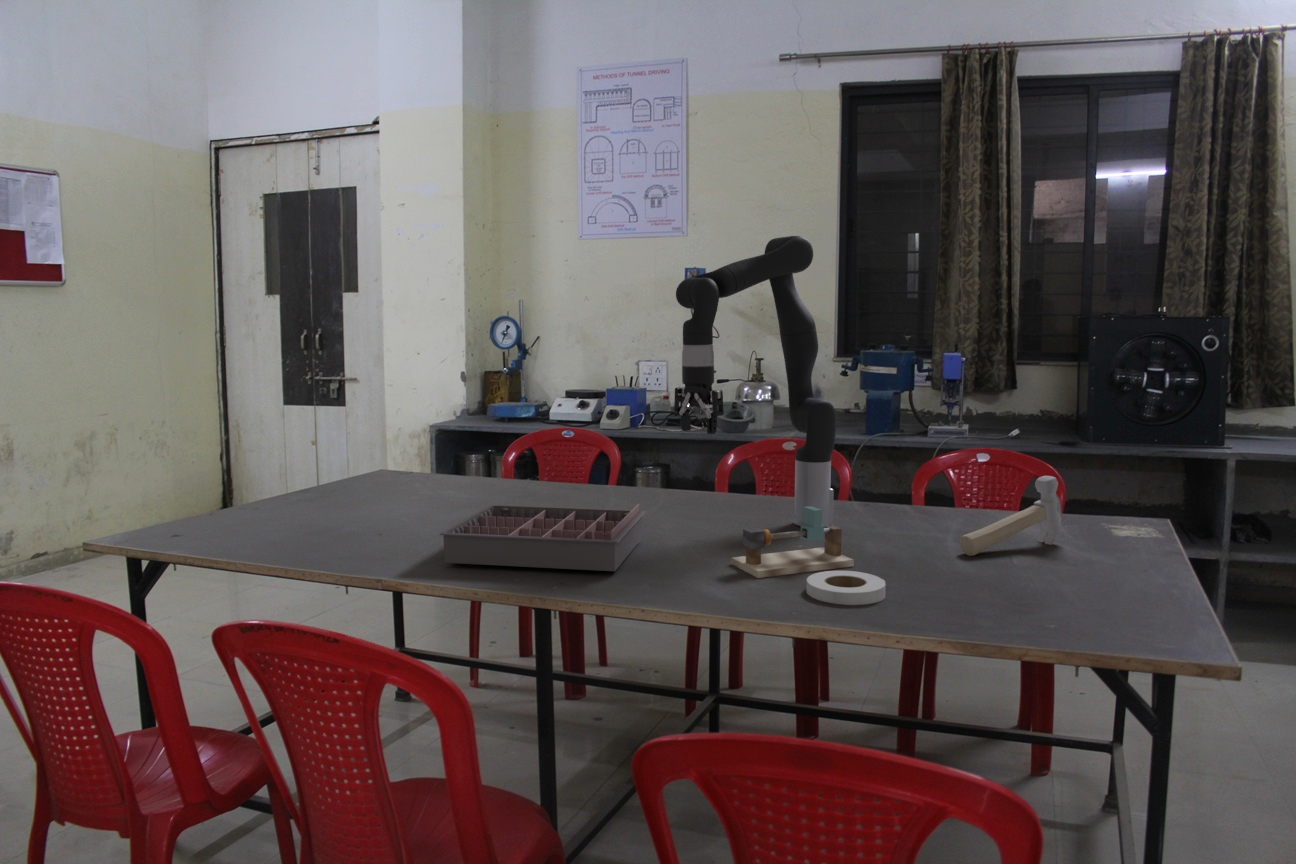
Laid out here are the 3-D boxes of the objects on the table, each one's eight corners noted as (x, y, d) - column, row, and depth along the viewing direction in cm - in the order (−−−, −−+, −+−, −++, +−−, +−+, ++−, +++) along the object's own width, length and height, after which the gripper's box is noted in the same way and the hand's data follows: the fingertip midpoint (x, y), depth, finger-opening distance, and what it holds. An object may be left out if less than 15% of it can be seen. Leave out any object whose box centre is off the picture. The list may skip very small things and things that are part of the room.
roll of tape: (835, 610, 176) (835, 595, 176) (791, 589, 190) (792, 575, 190) (902, 600, 182) (902, 586, 182) (854, 580, 196) (855, 566, 196)
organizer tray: (490, 535, 236) (489, 496, 235) (646, 542, 228) (646, 502, 227) (439, 569, 205) (438, 525, 203) (617, 579, 197) (617, 532, 196)
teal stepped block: (814, 536, 211) (815, 505, 210) (825, 540, 207) (825, 509, 206) (799, 537, 209) (799, 507, 208) (809, 542, 205) (810, 511, 204)
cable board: (823, 553, 217) (824, 516, 216) (853, 566, 206) (854, 527, 205) (731, 564, 208) (731, 525, 207) (757, 578, 197) (758, 537, 196)
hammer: (970, 517, 211) (1060, 477, 224) (954, 513, 215) (1044, 474, 228) (978, 581, 214) (1067, 538, 227) (963, 576, 219) (1050, 534, 231)
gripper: (731, 364, 217) (731, 433, 219) (688, 362, 228) (689, 428, 230) (708, 366, 212) (708, 436, 214) (665, 363, 223) (666, 431, 225)
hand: (698, 432), depth 222 cm, fingers open, 8 cm apart
